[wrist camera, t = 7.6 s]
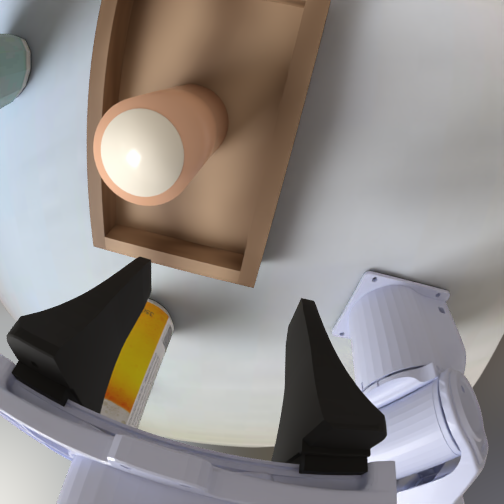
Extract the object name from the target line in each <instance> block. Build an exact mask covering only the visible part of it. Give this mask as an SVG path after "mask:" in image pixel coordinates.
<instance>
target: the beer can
mask: <svg viewBox="0 0 504 504" xmlns="http://www.w3.org/2000/svg"><path fill="white" fill-rule="evenodd" d="M173 331H174V326H173V323H172V320H171V317H170V315H169V313H168V312H167V310H166V309H165V308H164V307H163V306H161V305H160V304H159V303H157V302H155V301H153V300H151V299H148V300H147V303H146V305H145V307H144V309H143V311H142V313H141V315H140V316H139V318H138V320H137V322H136V324H135V325H134V327H133V329H132V331H131V332H130V334H129V336H128V338H127V339H126V341H125V343H124V345H123V347H122V349H121V352H120V354H119V357H118V359H117V362H116V364H115V367H114V370H113V373H112V375H111V378H110V381H109V384H108V388H107V391H106V394H105V397H104V401H103V405H102V409H101V413H100V414H101V415H104V416H106V417H108V418H111V419H113V420H116V421H118V422H121V423H123V424H126V425H129V426H131V427H134V428H137V429H138V426H139V423H140V420H141V417H142V415H143V412H144V409H145V406H146V403H147V400H148V398H149V395H150V392H151V389H152V387H153V384H154V381H155V379H156V376H157V373H158V371H159V368H160V365H161V363H162V360H163V357H164V355H165V352H166V349H167V347H168V344H169V342H170V339H171V336H172V334H173Z"/></svg>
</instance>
